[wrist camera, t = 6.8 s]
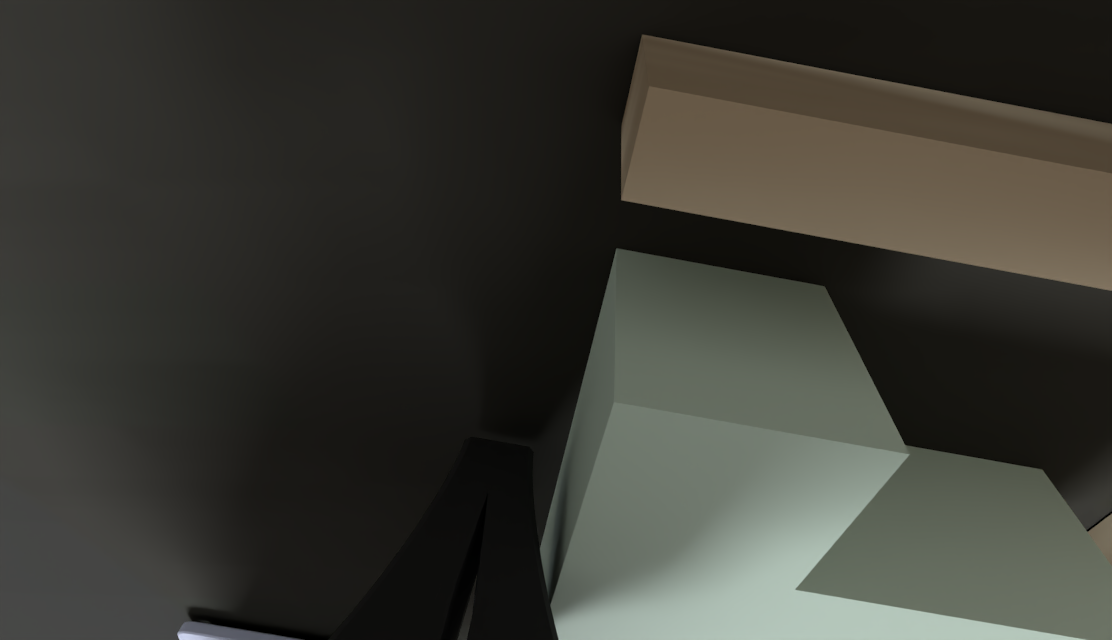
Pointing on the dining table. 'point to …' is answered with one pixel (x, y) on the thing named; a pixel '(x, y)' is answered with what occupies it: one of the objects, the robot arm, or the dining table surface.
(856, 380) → the tee
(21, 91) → the dining table surface
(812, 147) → the dock
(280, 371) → the dining table surface
